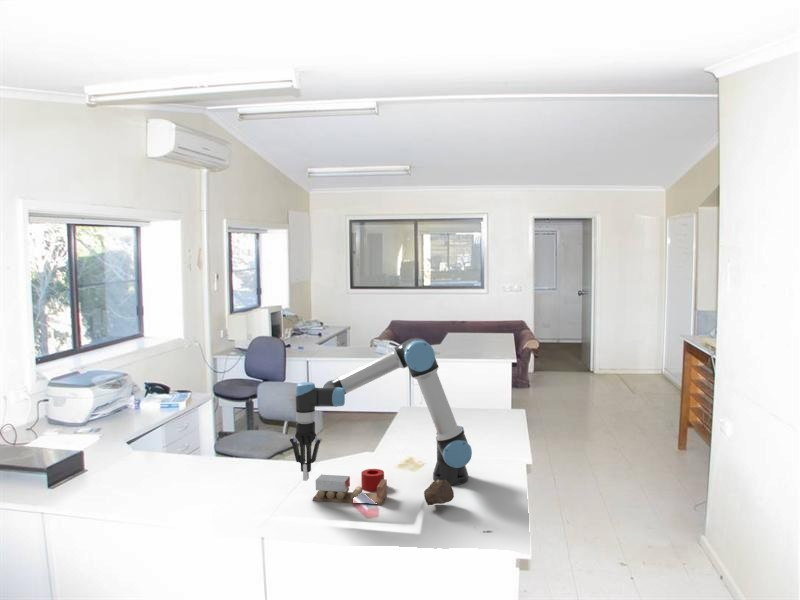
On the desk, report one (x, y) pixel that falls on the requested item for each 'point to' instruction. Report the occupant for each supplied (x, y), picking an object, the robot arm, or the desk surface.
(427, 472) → the desk surface
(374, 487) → the lever
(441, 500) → the rock
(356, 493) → the roller
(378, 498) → the board
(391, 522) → the desk surface
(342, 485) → the slab
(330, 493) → the cylinder
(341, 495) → the roller
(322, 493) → the roller
